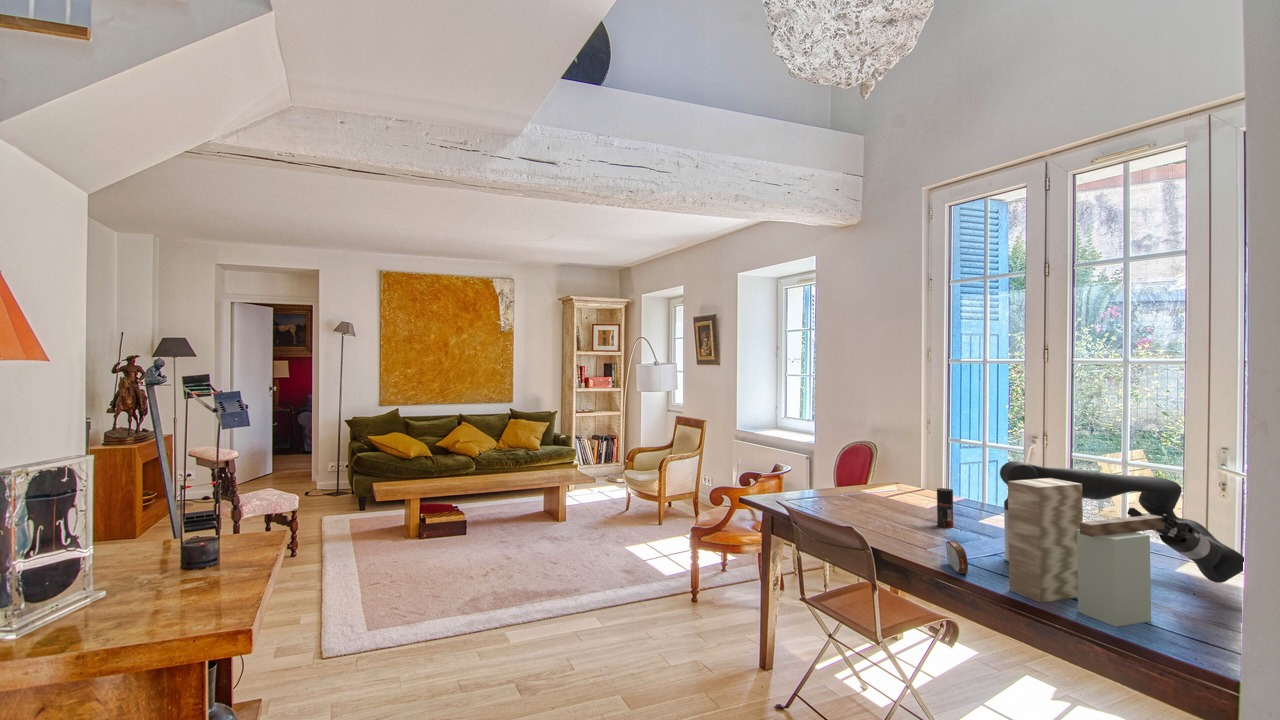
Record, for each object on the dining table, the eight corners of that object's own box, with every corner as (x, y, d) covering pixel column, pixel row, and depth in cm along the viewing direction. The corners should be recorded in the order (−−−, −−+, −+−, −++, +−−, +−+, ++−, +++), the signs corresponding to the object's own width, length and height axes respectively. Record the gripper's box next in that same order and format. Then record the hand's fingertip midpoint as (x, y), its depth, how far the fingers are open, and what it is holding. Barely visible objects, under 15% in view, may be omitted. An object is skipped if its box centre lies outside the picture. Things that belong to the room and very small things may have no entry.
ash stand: (1051, 584, 187) (1050, 477, 187) (1083, 596, 177) (1082, 483, 177) (1009, 590, 182) (1007, 481, 183) (1039, 602, 173) (1038, 487, 173)
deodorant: (947, 528, 251) (946, 491, 251) (934, 525, 256) (933, 489, 256) (956, 527, 253) (956, 490, 253) (943, 523, 259) (943, 487, 259)
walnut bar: (1152, 525, 169) (1152, 514, 169) (1164, 528, 166) (1164, 517, 166) (1079, 533, 162) (1079, 522, 162) (1091, 536, 159) (1091, 525, 159)
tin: (969, 577, 193) (968, 550, 194) (958, 577, 194) (957, 550, 194) (954, 562, 208) (954, 537, 208) (944, 562, 209) (944, 537, 209)
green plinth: (1112, 606, 169) (1110, 525, 169) (1151, 621, 160) (1149, 535, 160) (1078, 611, 166) (1077, 529, 166) (1116, 626, 156) (1114, 539, 157)
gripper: (1161, 521, 177) (1124, 496, 174) (1219, 534, 164) (1180, 507, 160) (1152, 545, 176) (1114, 520, 173) (1210, 560, 163) (1170, 533, 159)
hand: (1146, 514), depth 166 cm, fingers open, 8 cm apart
